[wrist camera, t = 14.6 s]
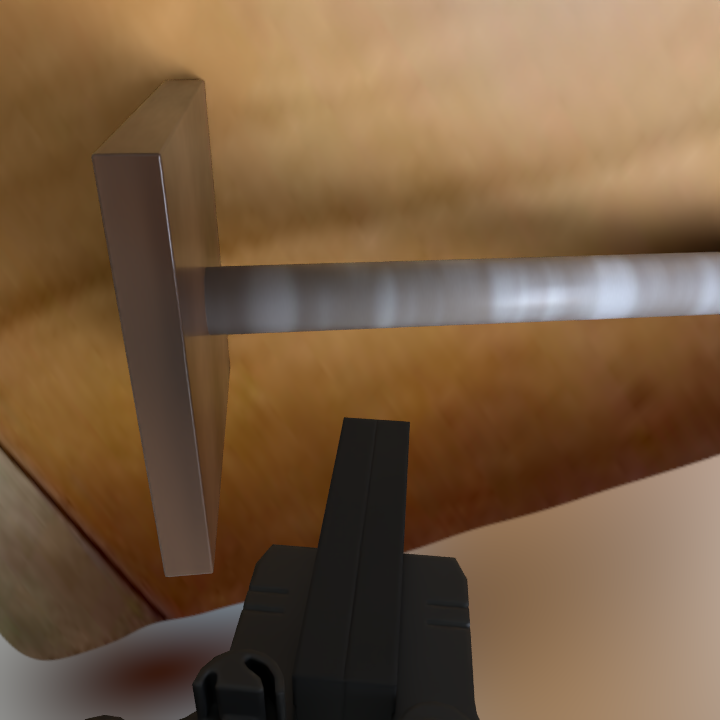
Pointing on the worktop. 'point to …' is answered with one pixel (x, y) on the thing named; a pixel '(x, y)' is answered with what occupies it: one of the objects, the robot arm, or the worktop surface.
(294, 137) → the worktop surface
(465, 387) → the worktop surface
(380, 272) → the paper towel stand
